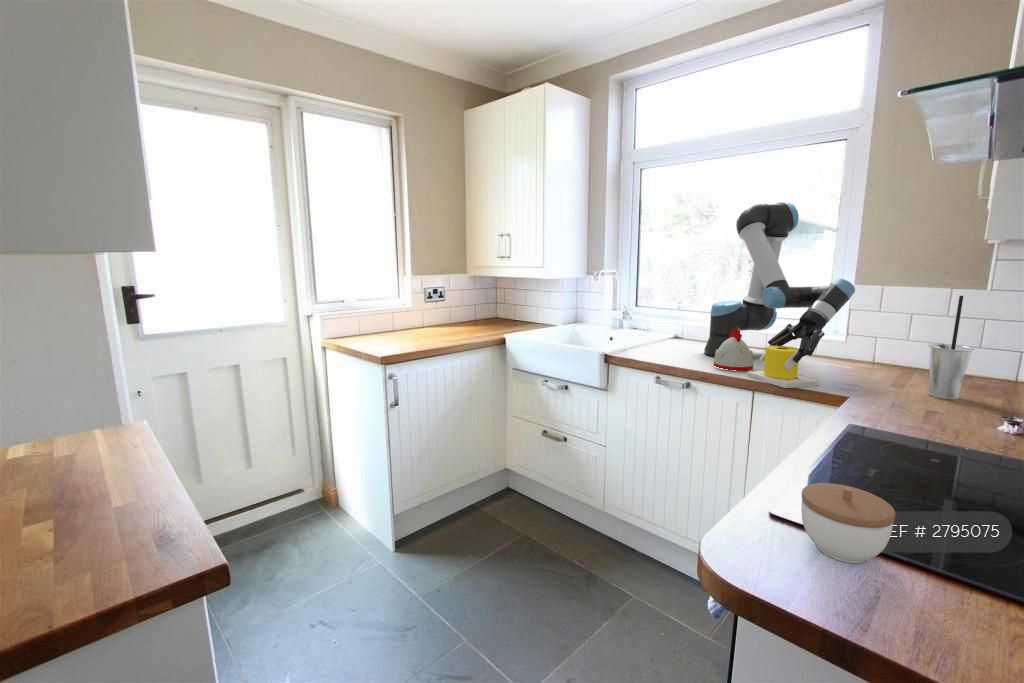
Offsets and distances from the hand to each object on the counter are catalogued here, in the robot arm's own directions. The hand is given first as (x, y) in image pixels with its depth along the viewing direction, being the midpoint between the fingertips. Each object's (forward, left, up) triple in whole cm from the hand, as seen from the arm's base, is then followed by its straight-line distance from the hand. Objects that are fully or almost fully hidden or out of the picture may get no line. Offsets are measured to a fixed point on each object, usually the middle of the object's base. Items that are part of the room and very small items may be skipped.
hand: (773, 364), depth 160 cm
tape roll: (0, +3, -4) cm, 5 cm away
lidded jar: (+84, -63, -6) cm, 105 cm away
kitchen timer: (-21, +1, -6) cm, 22 cm away
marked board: (+1, +3, -6) cm, 7 cm away
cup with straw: (+29, +35, -6) cm, 46 cm away
